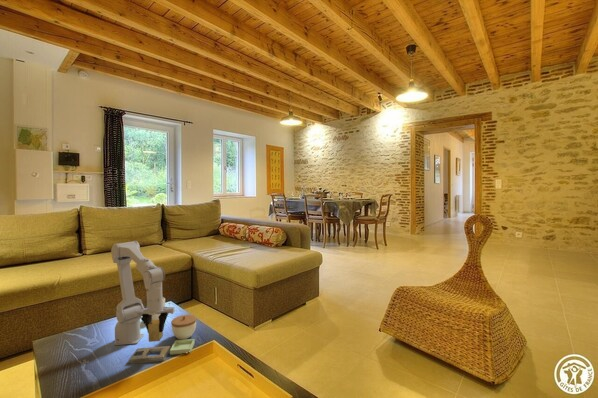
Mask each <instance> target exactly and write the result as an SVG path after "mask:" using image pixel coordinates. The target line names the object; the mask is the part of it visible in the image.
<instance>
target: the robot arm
mask: <svg viewBox="0 0 598 398" xmlns="http://www.w3.org/2000/svg"><path fill="white" fill-rule="evenodd" d="M110 252H111V258H112V262H113V263H115V264H116V266H117V273H118V278H119V285H120V292H121V298H122V300H121V301H120V302H119V303H118V304H117V306H116V308H115V309H116V312H115V314H116V315H115V317H116V320H117V321H116V323H115V327H114V344H113V345H114V346H119V345H121V346H123V345H132V344H133V345H134V344H138V343H139V342H140V340H141V339H142V338H143V337H144V335H145V333H141V321H142V322H143V324H144V326H145V327H146V330H147V334H149V332H148V324H149V323H150V322H151V321H152V315H154V314H161V315H160V316H159V317H158V318H159V322H160V332H162V331H163V332H164V329H165V324H166V320H167V317H168V316H169V314H172V315H173V314H174V313H175V309H176V308H175V307H174V306H172V307H171V306H165V307H163V298H164V296H163V281H165V278H166V273H165V270H164V268H163V267H162V266H156V265H155V263H154V262H153V261H152V260H151V259H150V258H148V257H145V256H144V255H143V253H142V252H141V246H140V243H139V242H138V241H137V240H133V241H127V242H119V243H114V244H113V245H112V246H111V249H110ZM132 261H133V262H134V263H136V264H135V268H136V269H137V271H138V272H139V273H140V274H141V275H142V280H143V283H144V288H145V289H146V307H144V304H143V301H142V299H140V298H138V297H136V294H135V288H134V282H133V281H134V280H133V275H132V269H131V262H132Z"/></svg>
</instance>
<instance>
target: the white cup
mask: <svg viewBox="0 0 598 398" xmlns="http://www.w3.org/2000/svg"><path fill="white" fill-rule="evenodd" d="M163 307H166V298H165V297H163ZM160 315H161V314H154V315H152V320H159V318H158V317H159V316H160Z"/></svg>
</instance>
